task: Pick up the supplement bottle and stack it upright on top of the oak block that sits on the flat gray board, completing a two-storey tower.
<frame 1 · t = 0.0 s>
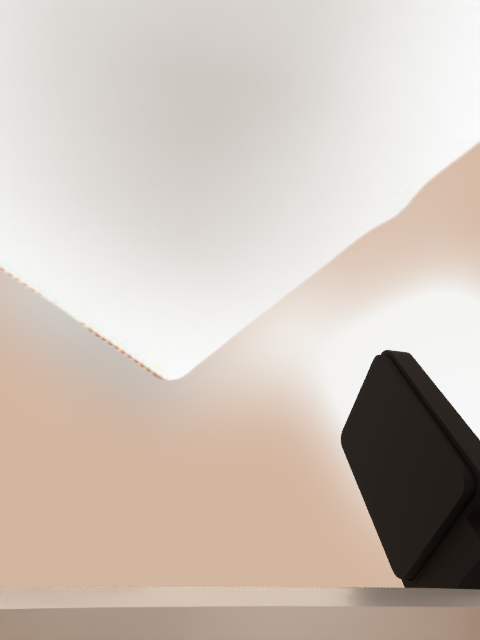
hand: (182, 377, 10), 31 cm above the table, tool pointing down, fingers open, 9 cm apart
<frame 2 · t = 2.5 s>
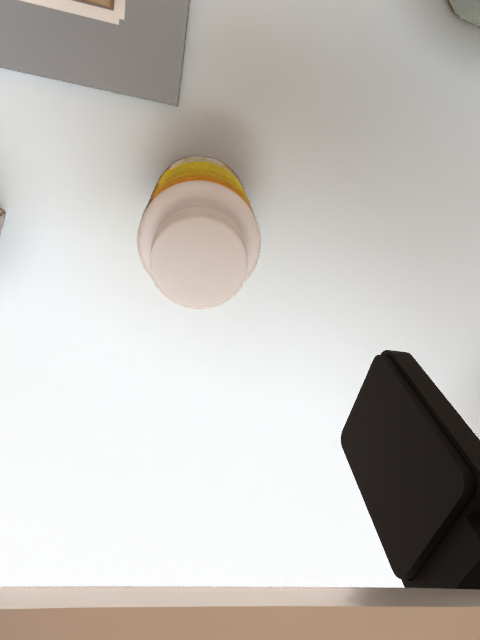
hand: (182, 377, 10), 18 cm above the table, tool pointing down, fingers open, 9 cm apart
supplement bottle: (200, 202, 25), on the table
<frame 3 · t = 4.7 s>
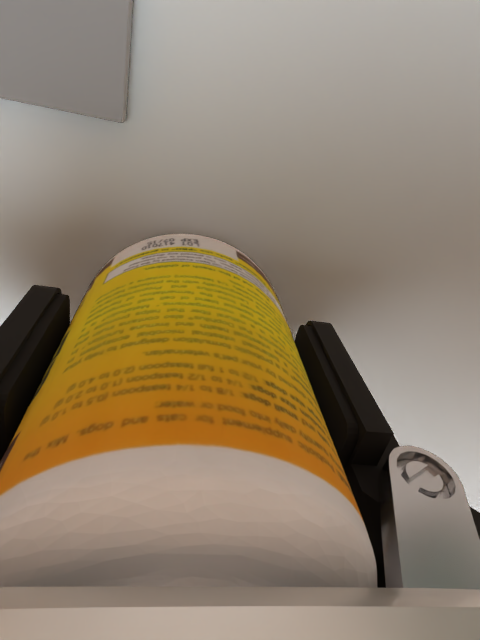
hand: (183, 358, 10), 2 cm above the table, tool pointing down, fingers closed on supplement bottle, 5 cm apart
supplement bottle: (184, 314, 12), on the table, touching gripper
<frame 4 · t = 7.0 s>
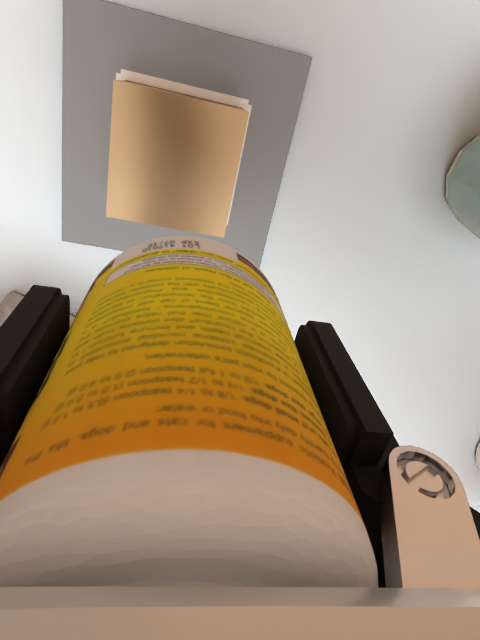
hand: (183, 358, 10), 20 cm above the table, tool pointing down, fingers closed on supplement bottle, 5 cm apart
flat gray board: (177, 154, 27), on the table
supplement bottle: (185, 316, 12), point 18 cm above the table, touching gripper
oak block: (177, 156, 26), point 1 cm above the table, touching flat gray board
coffee box: (60, 342, 33), on the table
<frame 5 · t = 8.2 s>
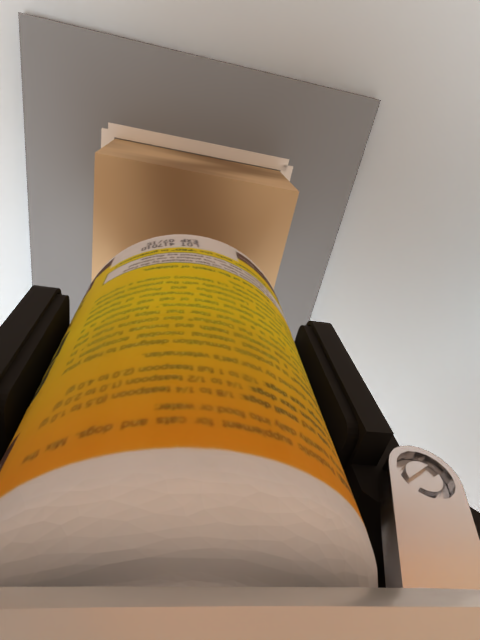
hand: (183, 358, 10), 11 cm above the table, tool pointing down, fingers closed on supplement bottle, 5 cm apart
flat gray board: (189, 230, 19), on the table
supplement bottle: (184, 315, 12), point 8 cm above the table, touching gripper
oak block: (189, 234, 19), point 1 cm above the table, touching flat gray board
when the fingers open (7 cm above the table, at t = 9.1 s): supplement bottle stays where it is, resting on oak block.
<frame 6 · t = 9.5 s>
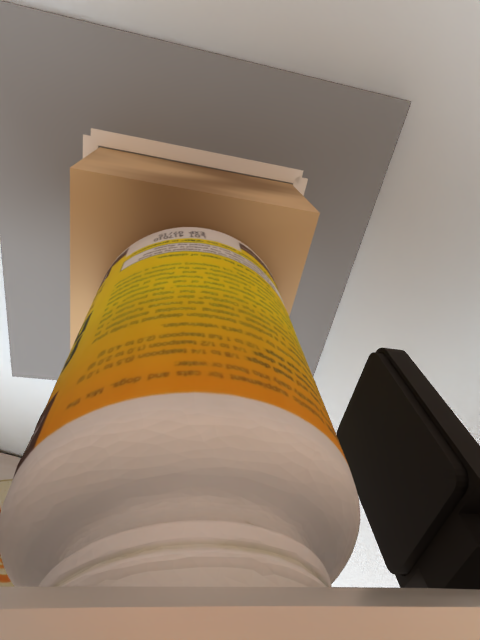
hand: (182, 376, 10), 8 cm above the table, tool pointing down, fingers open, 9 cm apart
flat gray board: (187, 250, 17), on the table
supplement bottle: (191, 303, 13), point 4 cm above the table, touching oak block
oak block: (187, 256, 16), point 1 cm above the table, touching flat gray board, supplement bottle
coffee box: (23, 490, 23), on the table
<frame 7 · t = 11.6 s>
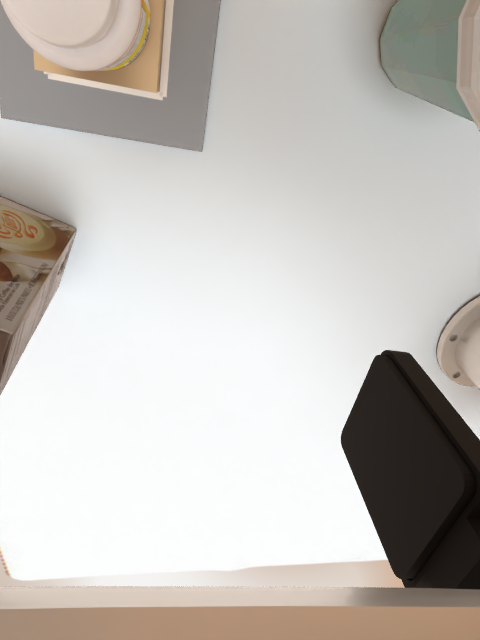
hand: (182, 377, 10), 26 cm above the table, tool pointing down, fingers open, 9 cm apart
flat gray board: (109, 19, 27), on the table
supplement bottle: (101, 14, 23), point 4 cm above the table, touching oak block
oak block: (107, 18, 26), point 1 cm above the table, touching flat gray board, supplement bottle
disposable coffee cup: (423, 40, 30), on the table
coffee box: (13, 237, 33), on the table
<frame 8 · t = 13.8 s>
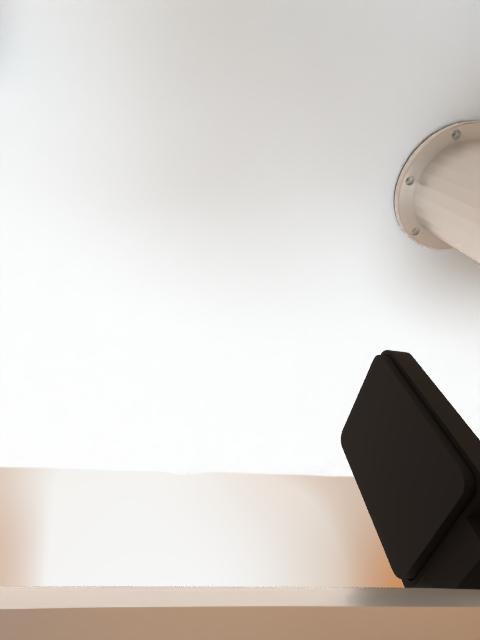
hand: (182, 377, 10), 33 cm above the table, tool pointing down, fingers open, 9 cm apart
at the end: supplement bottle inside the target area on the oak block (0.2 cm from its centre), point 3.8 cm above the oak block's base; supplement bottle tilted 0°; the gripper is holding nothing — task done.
